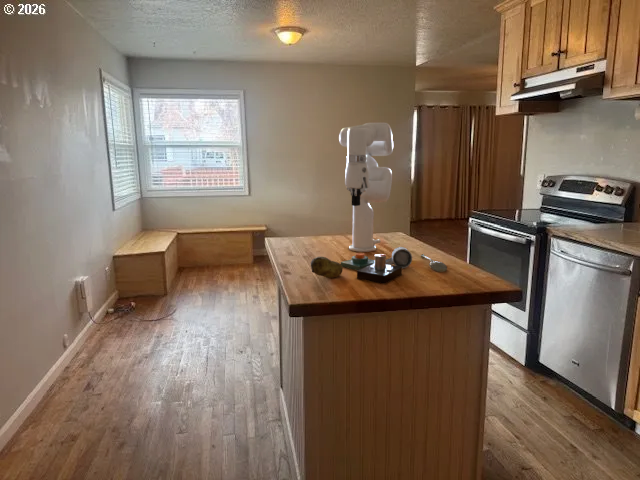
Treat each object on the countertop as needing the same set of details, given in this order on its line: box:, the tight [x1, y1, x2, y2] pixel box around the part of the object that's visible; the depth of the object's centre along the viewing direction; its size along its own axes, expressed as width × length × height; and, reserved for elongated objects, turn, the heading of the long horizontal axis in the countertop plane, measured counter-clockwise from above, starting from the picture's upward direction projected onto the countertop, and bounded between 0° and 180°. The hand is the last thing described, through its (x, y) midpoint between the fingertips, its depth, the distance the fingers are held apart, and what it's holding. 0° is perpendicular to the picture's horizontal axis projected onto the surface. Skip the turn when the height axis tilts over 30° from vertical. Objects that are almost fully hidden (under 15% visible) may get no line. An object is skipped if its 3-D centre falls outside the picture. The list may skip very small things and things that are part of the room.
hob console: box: [356, 263, 403, 285], centre depth 160 cm, size 14×11×3 cm
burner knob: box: [374, 253, 387, 270], centre depth 159 cm, size 4×4×5 cm
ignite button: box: [355, 252, 366, 259], centre depth 174 cm, size 4×4×2 cm
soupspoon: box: [420, 253, 448, 273], centre depth 177 cm, size 22×3×7 cm
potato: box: [310, 256, 344, 279], centre depth 158 cm, size 8×13×8 cm, turn 108°
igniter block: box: [340, 255, 375, 271], centre depth 175 cm, size 12×10×4 cm
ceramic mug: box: [386, 246, 413, 269], centre depth 174 cm, size 11×8×8 cm
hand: (355, 205), depth 179 cm, fingers closed
